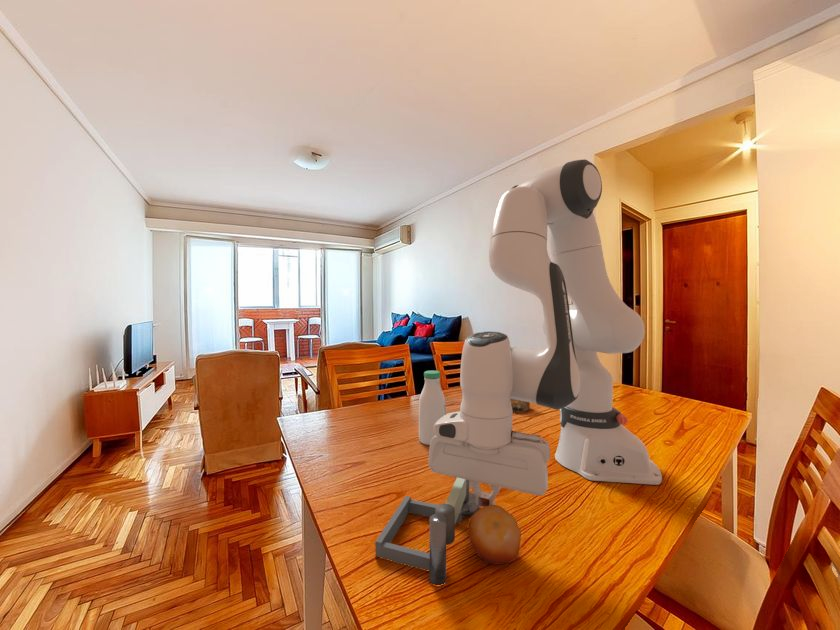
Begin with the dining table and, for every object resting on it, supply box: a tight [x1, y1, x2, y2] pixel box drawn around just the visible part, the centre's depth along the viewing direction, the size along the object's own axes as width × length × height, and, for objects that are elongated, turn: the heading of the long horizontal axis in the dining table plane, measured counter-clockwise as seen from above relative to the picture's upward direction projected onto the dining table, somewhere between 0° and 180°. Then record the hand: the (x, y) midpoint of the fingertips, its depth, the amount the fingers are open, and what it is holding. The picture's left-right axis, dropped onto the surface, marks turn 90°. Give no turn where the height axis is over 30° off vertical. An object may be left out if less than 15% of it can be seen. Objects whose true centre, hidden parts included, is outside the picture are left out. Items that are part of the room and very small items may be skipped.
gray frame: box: [374, 495, 463, 572], centre depth 57 cm, size 11×13×2 cm
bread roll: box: [510, 399, 531, 413], centre depth 125 cm, size 10×10×8 cm
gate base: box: [461, 491, 480, 518], centre depth 65 cm, size 6×6×2 cm
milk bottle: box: [418, 370, 447, 446], centre depth 96 cm, size 8×8×20 cm
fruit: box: [468, 504, 522, 565], centre depth 53 cm, size 8×8×8 cm
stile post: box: [429, 514, 447, 585], centre depth 48 cm, size 2×2×9 cm
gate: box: [435, 477, 470, 546], centre depth 58 cm, size 3×17×6 cm, turn 161°
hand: (485, 505), depth 58 cm, fingers closed
